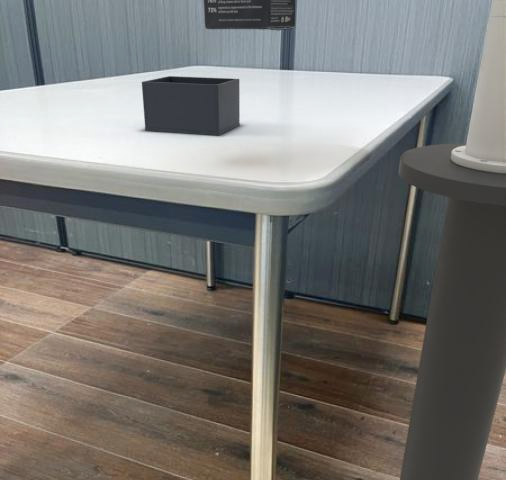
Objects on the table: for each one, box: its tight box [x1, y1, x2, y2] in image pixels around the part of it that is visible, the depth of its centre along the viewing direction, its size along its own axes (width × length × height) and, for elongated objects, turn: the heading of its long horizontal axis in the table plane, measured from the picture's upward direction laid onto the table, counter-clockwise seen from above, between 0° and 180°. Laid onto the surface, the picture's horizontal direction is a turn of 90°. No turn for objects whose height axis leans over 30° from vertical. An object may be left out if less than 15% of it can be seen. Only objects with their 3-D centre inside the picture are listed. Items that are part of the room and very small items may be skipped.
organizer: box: [141, 75, 241, 136], centre depth 86 cm, size 11×9×6 cm
